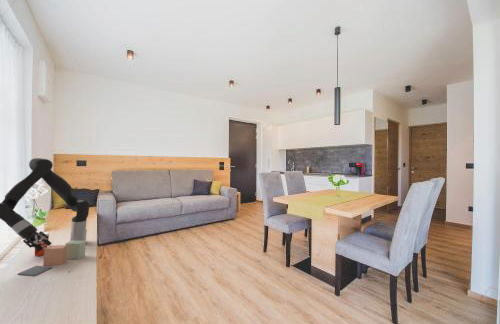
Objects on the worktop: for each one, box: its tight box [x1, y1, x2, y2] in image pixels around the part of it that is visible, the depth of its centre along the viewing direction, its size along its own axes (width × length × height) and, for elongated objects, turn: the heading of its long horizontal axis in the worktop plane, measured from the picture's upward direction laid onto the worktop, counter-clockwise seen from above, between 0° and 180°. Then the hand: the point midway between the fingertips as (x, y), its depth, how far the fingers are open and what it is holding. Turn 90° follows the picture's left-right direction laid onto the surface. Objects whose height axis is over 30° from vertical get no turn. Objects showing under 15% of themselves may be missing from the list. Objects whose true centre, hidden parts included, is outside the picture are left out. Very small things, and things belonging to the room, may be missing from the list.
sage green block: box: [64, 240, 87, 260], centre depth 147 cm, size 9×6×10 cm, turn 97°
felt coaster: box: [17, 265, 53, 277], centre depth 126 cm, size 10×10×1 cm
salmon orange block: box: [42, 244, 67, 267], centre depth 138 cm, size 9×6×10 cm, turn 106°
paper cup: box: [34, 231, 51, 257], centre depth 149 cm, size 8×8×14 cm
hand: (45, 247), depth 136 cm, fingers open, 8 cm apart
